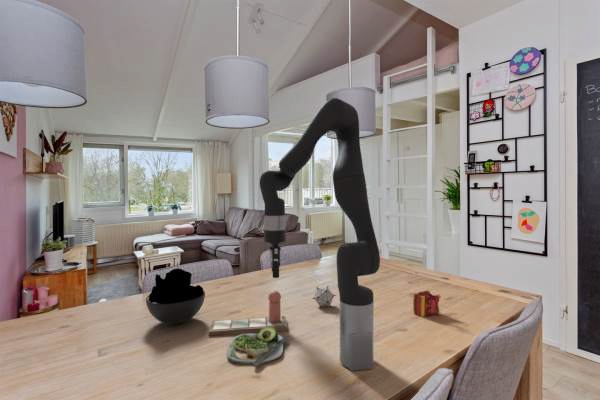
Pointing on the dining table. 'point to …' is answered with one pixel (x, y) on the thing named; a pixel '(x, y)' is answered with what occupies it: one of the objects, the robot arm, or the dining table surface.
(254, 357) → the salad plate
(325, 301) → the game die
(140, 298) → the dining table surface
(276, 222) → the robot arm
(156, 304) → the coal bowl
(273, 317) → the pawn
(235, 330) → the board
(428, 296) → the book monster
